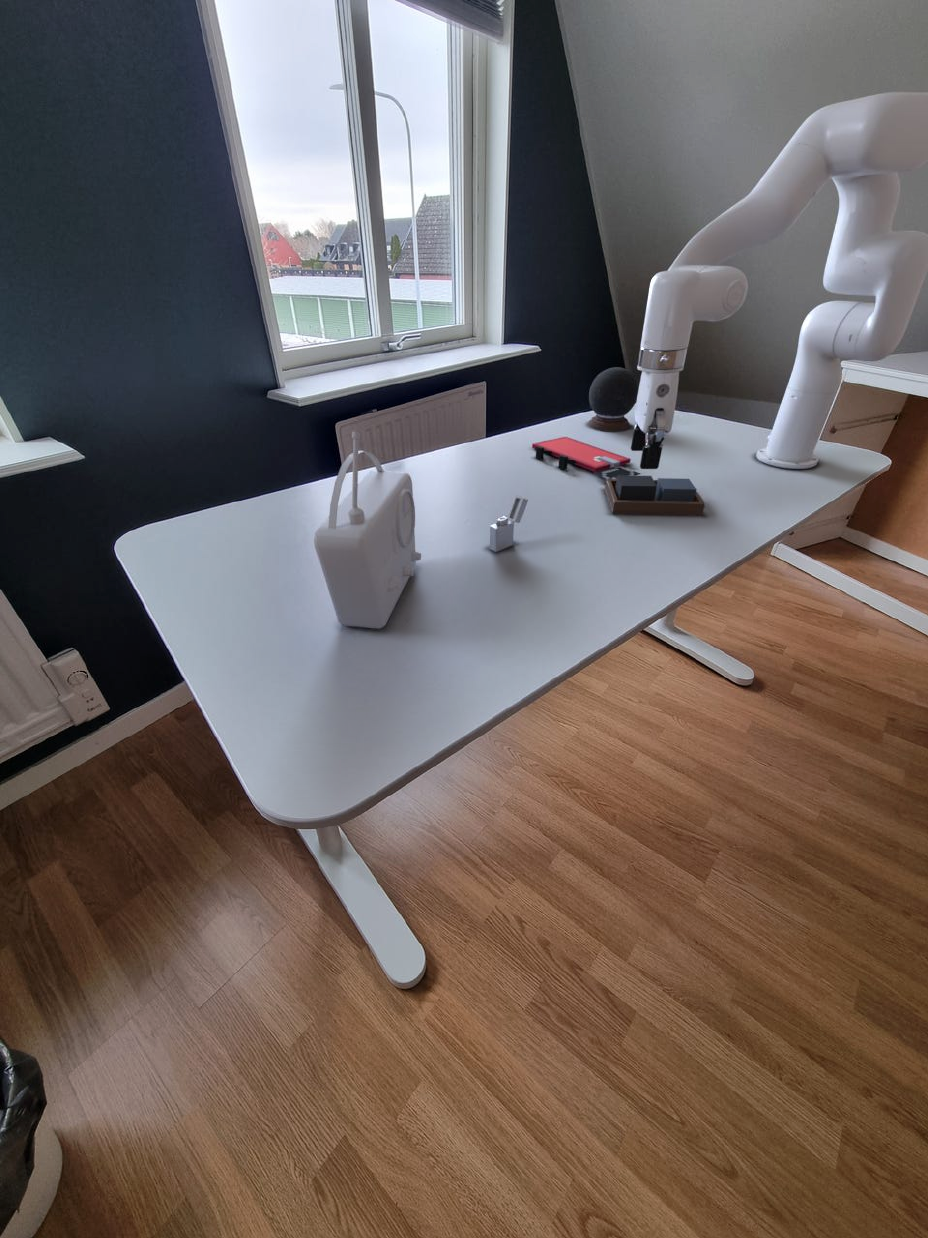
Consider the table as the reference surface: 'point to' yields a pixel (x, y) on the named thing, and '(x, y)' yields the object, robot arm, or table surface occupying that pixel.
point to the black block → (635, 488)
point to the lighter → (506, 526)
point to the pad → (675, 490)
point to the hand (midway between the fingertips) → (643, 458)
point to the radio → (368, 543)
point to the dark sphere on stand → (612, 399)
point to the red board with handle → (584, 457)
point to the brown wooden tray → (652, 504)
